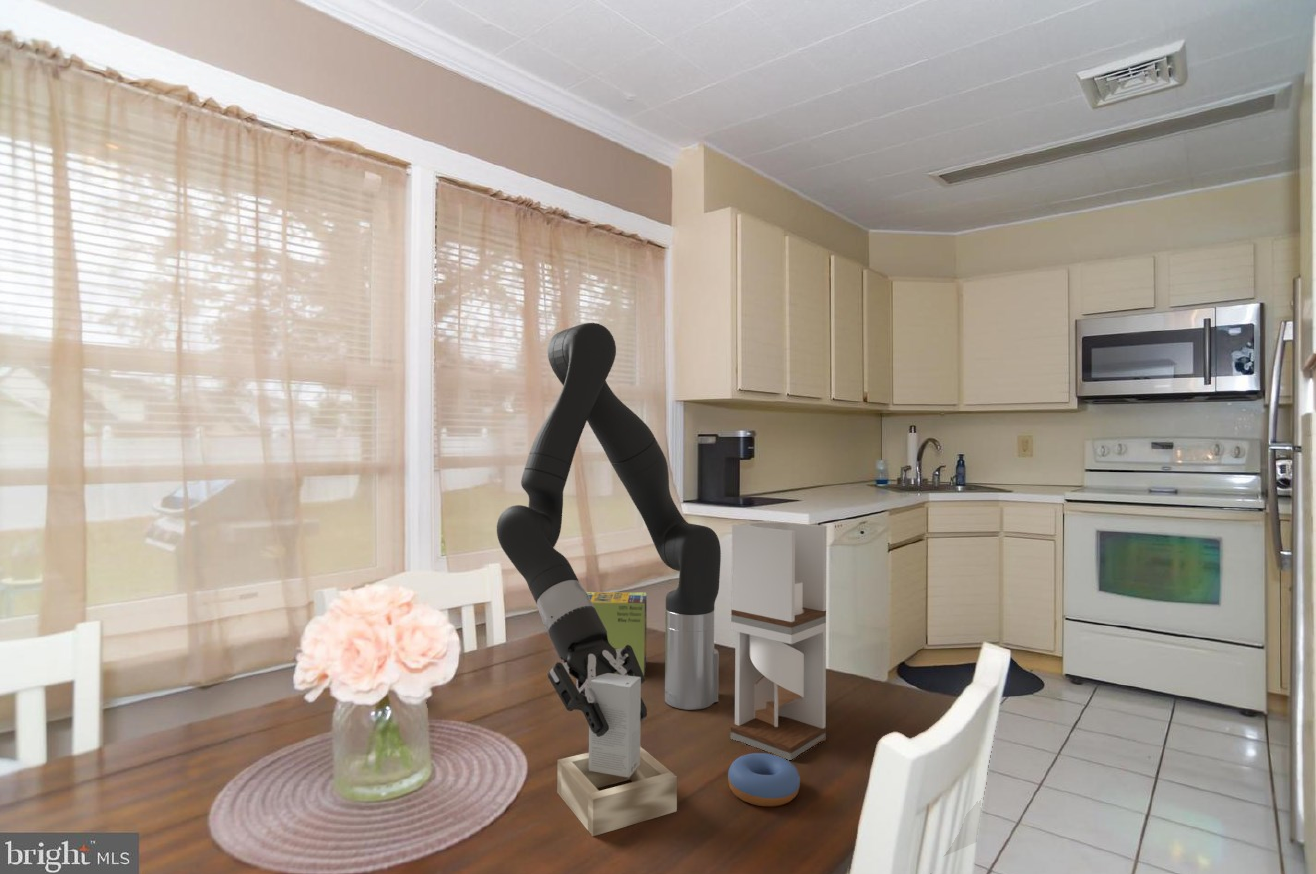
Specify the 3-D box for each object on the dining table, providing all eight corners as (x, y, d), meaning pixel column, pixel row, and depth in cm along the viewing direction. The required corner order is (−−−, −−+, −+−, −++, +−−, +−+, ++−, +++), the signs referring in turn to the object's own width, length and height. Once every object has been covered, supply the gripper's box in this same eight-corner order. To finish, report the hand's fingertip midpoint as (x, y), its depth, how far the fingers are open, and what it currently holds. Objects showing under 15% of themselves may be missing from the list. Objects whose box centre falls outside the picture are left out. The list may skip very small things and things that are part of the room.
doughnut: (784, 817, 87) (783, 780, 88) (715, 799, 93) (715, 764, 93) (810, 792, 96) (810, 758, 96) (746, 777, 101) (746, 745, 102)
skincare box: (640, 765, 92) (642, 676, 92) (629, 779, 88) (631, 687, 88) (599, 757, 94) (601, 671, 94) (586, 771, 90) (588, 680, 90)
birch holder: (634, 772, 99) (634, 741, 99) (676, 811, 89) (677, 776, 89) (557, 792, 93) (557, 759, 93) (592, 836, 83) (593, 799, 83)
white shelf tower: (730, 739, 111) (732, 525, 112) (766, 720, 119) (768, 520, 120) (790, 761, 103) (791, 531, 104) (825, 739, 111) (826, 526, 112)
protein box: (645, 677, 141) (645, 602, 141) (571, 676, 141) (572, 601, 141) (646, 661, 151) (647, 591, 151) (577, 660, 151) (578, 591, 152)
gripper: (540, 612, 92) (594, 727, 83) (620, 597, 102) (675, 698, 93) (518, 643, 95) (567, 756, 87) (597, 625, 106) (648, 725, 97)
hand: (623, 726), depth 90 cm, fingers closed on skincare box, 6 cm apart
